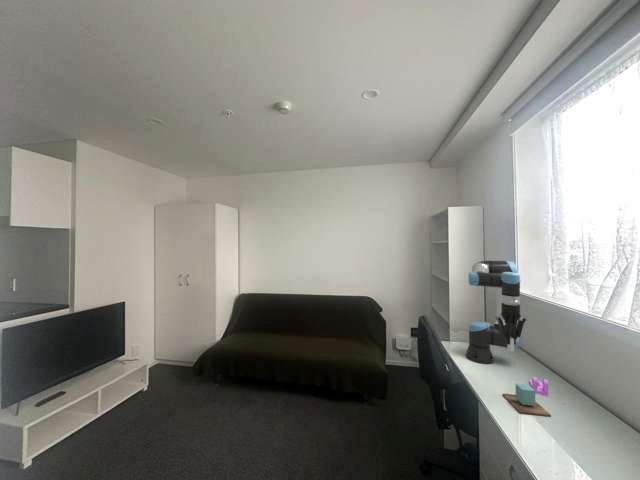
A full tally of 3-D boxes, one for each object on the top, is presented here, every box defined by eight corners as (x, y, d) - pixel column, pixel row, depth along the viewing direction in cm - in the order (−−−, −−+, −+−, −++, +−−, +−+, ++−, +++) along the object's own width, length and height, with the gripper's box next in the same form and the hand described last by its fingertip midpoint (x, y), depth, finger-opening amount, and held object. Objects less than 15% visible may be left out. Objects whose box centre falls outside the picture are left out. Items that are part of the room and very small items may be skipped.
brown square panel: (502, 395, 126) (502, 379, 126) (529, 397, 124) (529, 381, 124) (519, 413, 112) (519, 395, 112) (550, 416, 110) (550, 398, 110)
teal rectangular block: (515, 397, 121) (515, 383, 121) (527, 398, 120) (527, 384, 120) (522, 404, 116) (522, 389, 116) (535, 405, 115) (535, 390, 115)
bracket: (548, 396, 126) (548, 381, 126) (533, 392, 128) (533, 378, 129) (541, 383, 137) (541, 370, 137) (528, 380, 140) (528, 368, 140)
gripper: (500, 305, 125) (500, 353, 125) (530, 305, 123) (530, 354, 123) (492, 301, 132) (492, 346, 133) (520, 301, 131) (520, 347, 131)
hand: (510, 350), depth 128 cm, fingers closed
